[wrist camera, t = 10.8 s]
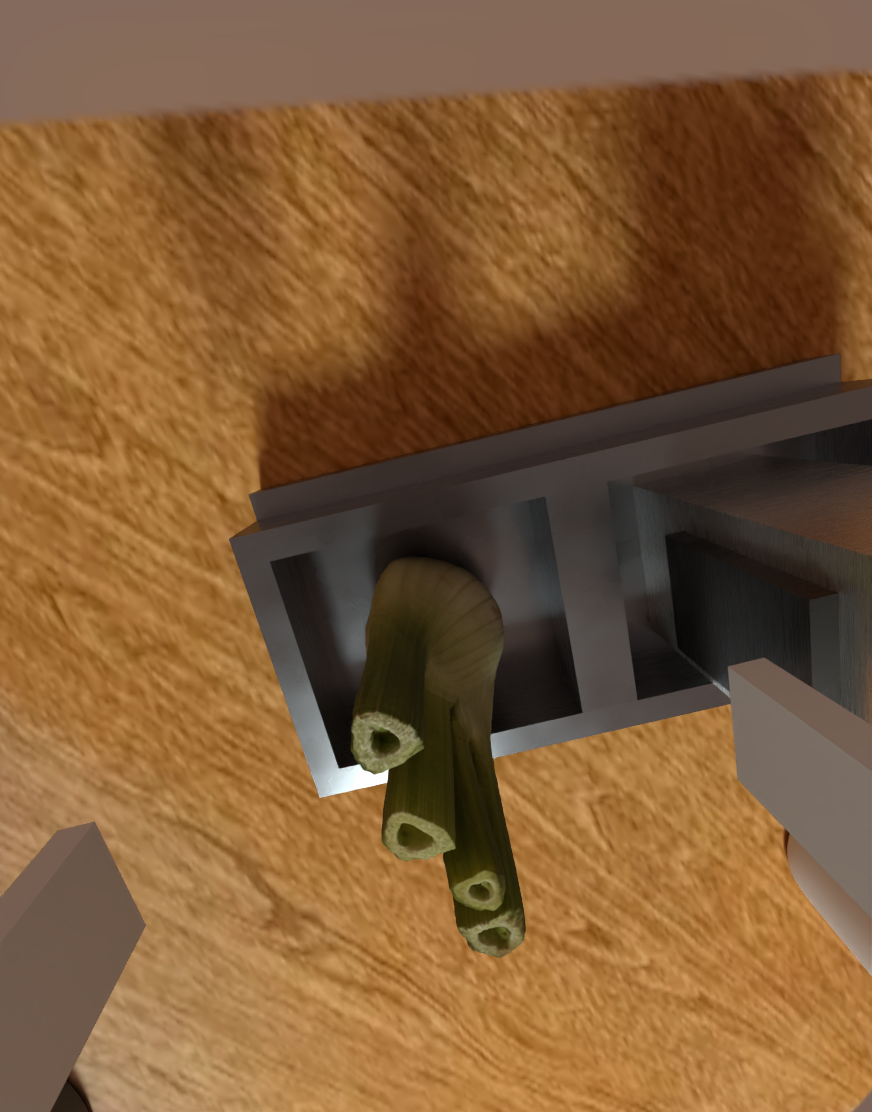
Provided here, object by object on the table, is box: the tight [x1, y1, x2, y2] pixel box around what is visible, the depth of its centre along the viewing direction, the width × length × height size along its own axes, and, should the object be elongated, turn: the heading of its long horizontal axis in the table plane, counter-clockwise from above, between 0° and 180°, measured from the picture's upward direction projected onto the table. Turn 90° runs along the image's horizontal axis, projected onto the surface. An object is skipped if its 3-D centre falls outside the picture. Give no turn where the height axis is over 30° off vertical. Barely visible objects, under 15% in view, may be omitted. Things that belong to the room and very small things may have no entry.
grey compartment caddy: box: [229, 353, 872, 798], centre depth 15 cm, size 22×12×12 cm, turn 103°
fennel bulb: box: [350, 556, 526, 958], centre depth 14 cm, size 6×5×12 cm
